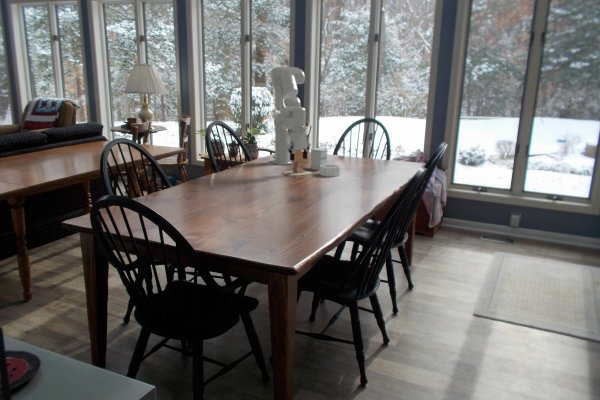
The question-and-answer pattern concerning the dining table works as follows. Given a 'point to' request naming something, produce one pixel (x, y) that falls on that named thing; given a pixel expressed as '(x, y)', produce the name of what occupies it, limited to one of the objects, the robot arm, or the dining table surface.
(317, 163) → the supplement box
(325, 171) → the bowl
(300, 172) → the lid
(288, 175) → the mat
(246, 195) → the dining table surface
